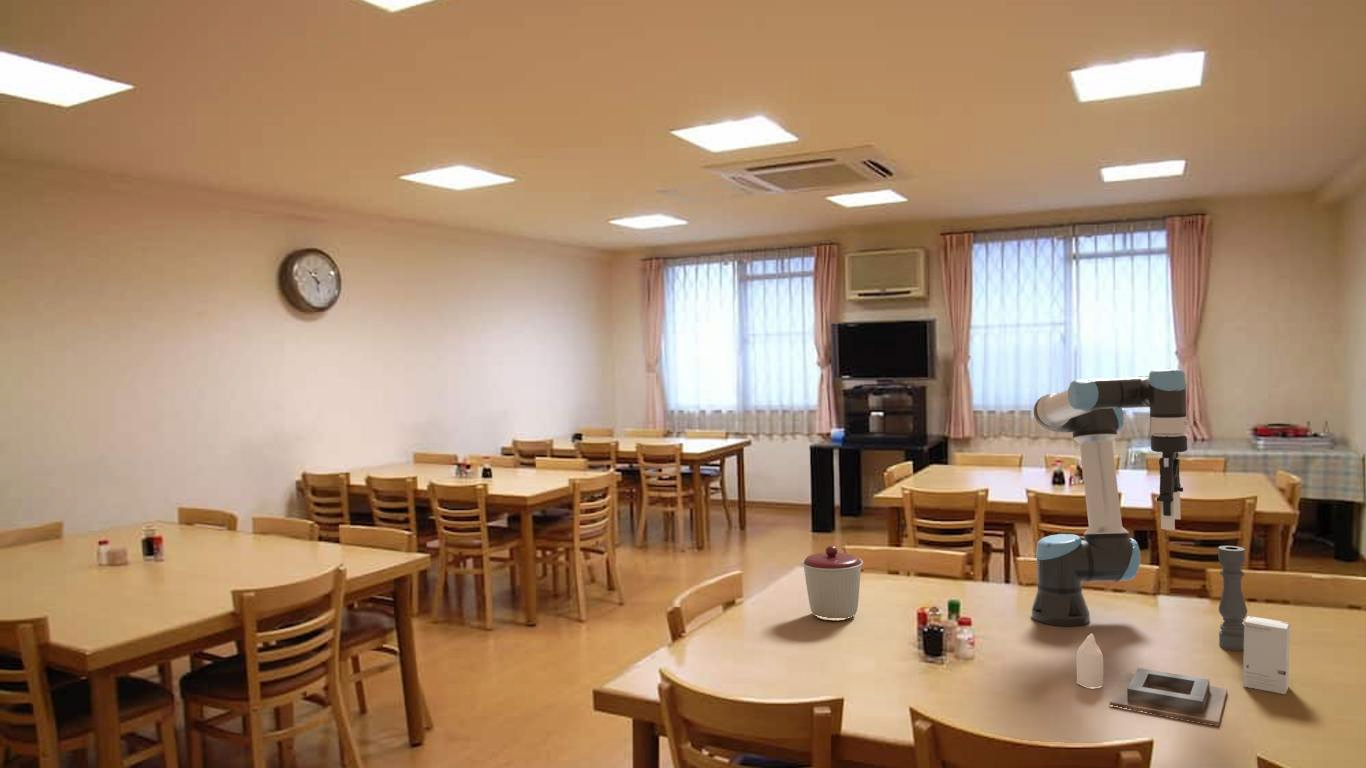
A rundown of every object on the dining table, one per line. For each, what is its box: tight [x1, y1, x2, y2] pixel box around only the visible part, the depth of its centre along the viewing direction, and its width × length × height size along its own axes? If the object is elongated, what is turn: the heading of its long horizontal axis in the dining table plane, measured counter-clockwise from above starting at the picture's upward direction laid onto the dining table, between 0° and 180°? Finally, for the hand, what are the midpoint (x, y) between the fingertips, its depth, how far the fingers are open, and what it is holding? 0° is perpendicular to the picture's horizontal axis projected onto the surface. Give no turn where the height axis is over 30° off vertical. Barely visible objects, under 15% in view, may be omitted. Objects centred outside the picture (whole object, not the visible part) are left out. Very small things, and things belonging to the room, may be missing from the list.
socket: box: [1109, 667, 1228, 727], centre depth 189 cm, size 20×20×4 cm
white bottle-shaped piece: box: [1075, 633, 1104, 687], centre depth 199 cm, size 6×12×6 cm
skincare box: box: [1242, 615, 1291, 695], centre depth 193 cm, size 8×6×15 cm
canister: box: [800, 545, 864, 618], centre depth 258 cm, size 18×18×21 cm
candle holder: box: [1217, 545, 1248, 652], centre depth 218 cm, size 6×6×25 cm
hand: (1171, 524), depth 206 cm, fingers open, 13 cm apart
